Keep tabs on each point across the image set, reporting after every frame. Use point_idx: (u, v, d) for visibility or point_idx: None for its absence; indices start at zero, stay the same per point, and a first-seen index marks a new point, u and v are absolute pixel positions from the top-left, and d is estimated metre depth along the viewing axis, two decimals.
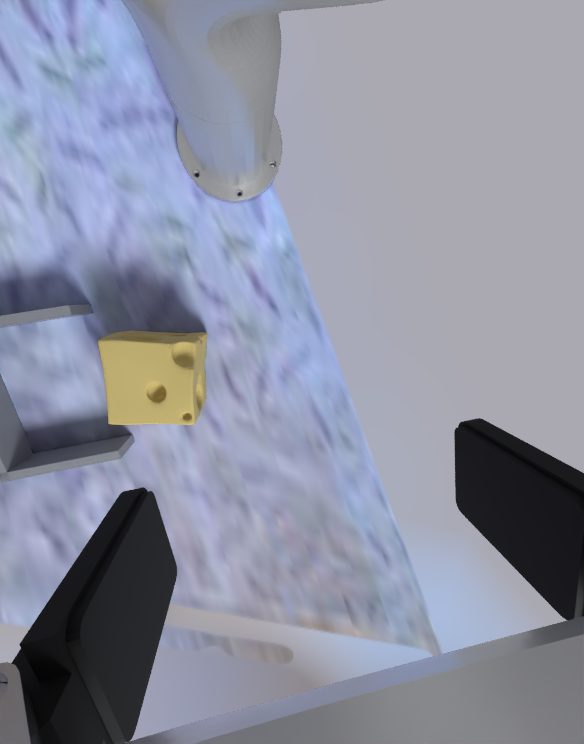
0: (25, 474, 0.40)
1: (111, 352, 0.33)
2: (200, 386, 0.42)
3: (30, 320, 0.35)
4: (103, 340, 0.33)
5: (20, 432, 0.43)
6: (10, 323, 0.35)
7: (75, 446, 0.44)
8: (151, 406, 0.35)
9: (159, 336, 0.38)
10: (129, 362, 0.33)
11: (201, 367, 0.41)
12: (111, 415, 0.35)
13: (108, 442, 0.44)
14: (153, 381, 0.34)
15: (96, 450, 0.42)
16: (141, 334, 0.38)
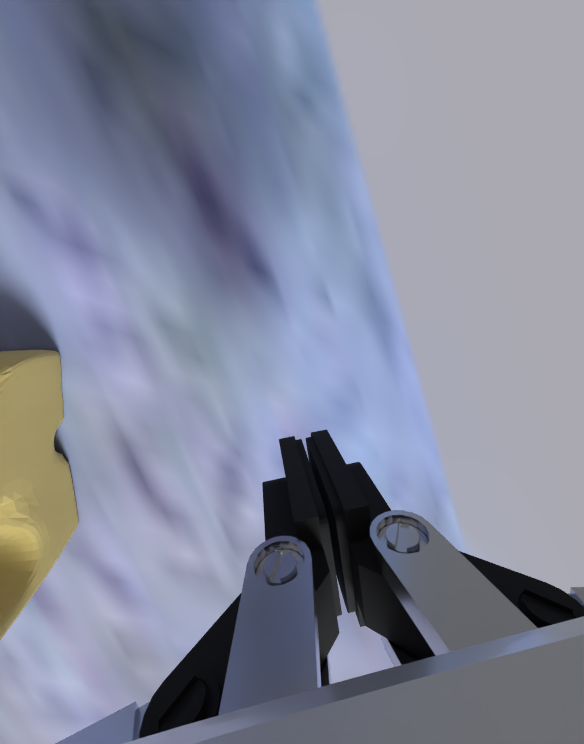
0: None
1: None
2: (24, 528, 0.13)
3: None
4: None
5: None
6: None
7: None
8: None
9: None
10: None
11: (14, 473, 0.12)
12: None
13: None
14: None
15: None
16: None
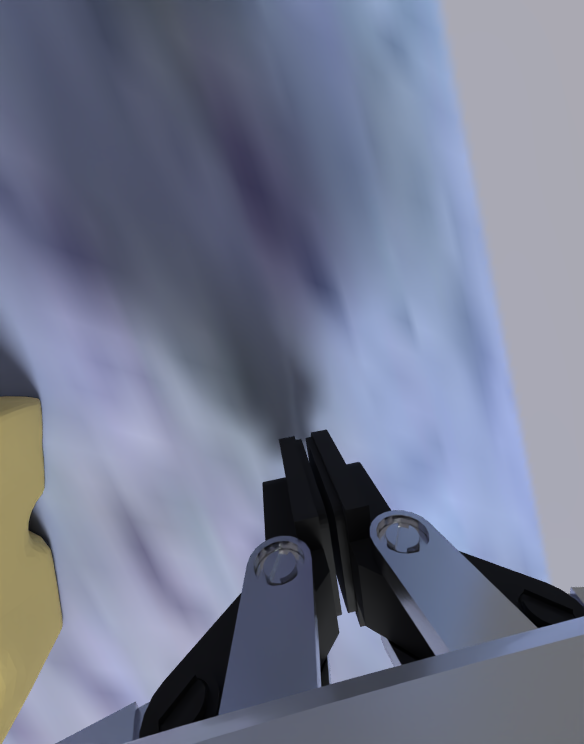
0: None
1: None
2: None
3: None
4: None
5: None
6: None
7: None
8: None
9: None
10: None
11: None
12: None
13: None
14: None
15: None
16: None
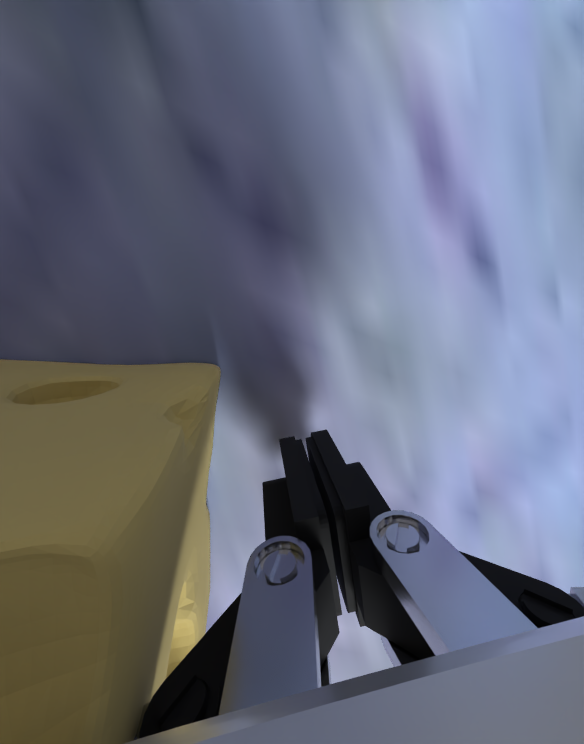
0: None
1: None
2: (189, 619, 0.09)
3: None
4: None
5: None
6: None
7: None
8: None
9: None
10: None
11: (192, 544, 0.08)
12: None
13: None
14: None
15: None
16: None
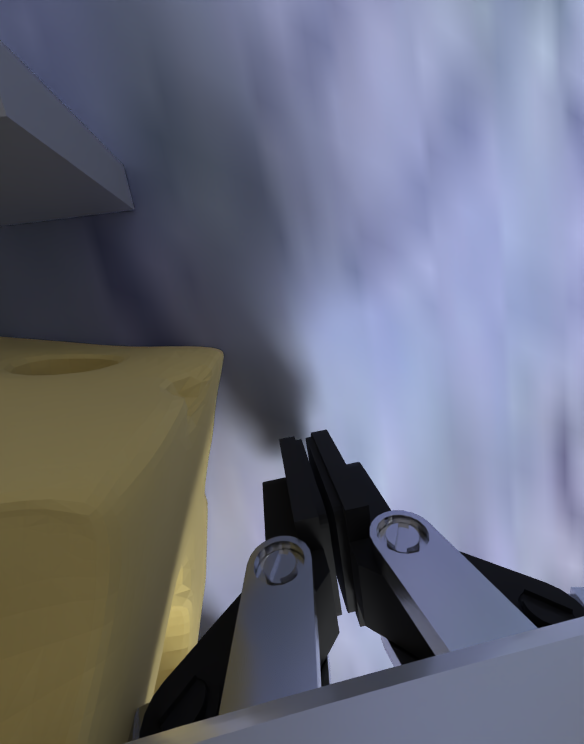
0: None
1: None
2: (184, 607, 0.09)
3: None
4: None
5: None
6: None
7: None
8: None
9: None
10: None
11: (190, 528, 0.08)
12: None
13: None
14: None
15: None
16: None
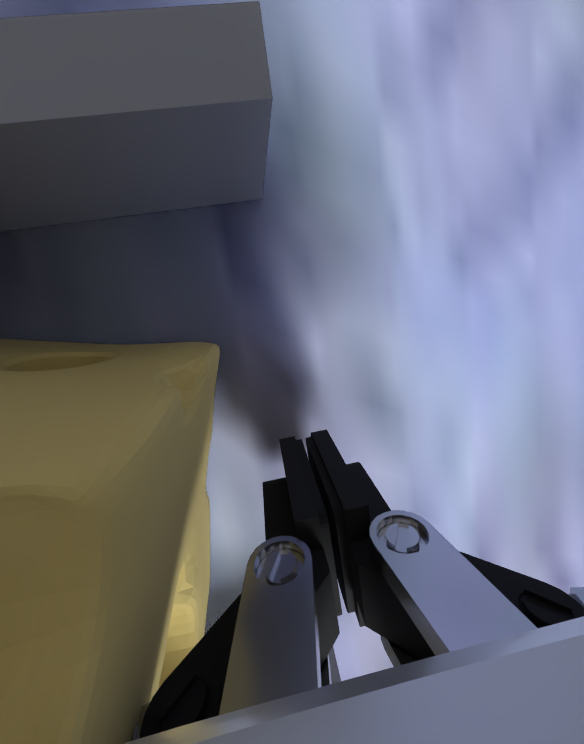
0: None
1: None
2: (188, 604, 0.09)
3: None
4: None
5: None
6: None
7: None
8: None
9: None
10: None
11: (191, 524, 0.08)
12: None
13: None
14: None
15: None
16: None
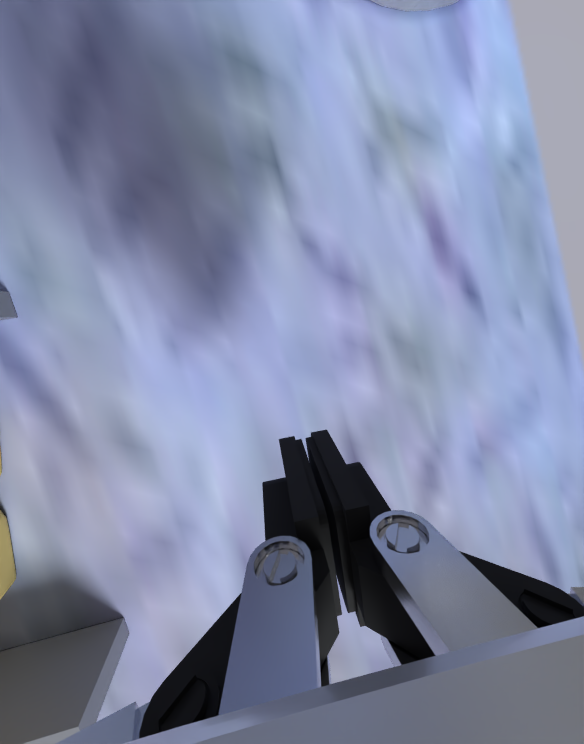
0: None
1: None
2: None
3: None
4: None
5: None
6: None
7: None
8: None
9: None
10: None
11: None
12: None
13: (59, 657, 0.17)
14: None
15: (17, 709, 0.14)
16: None
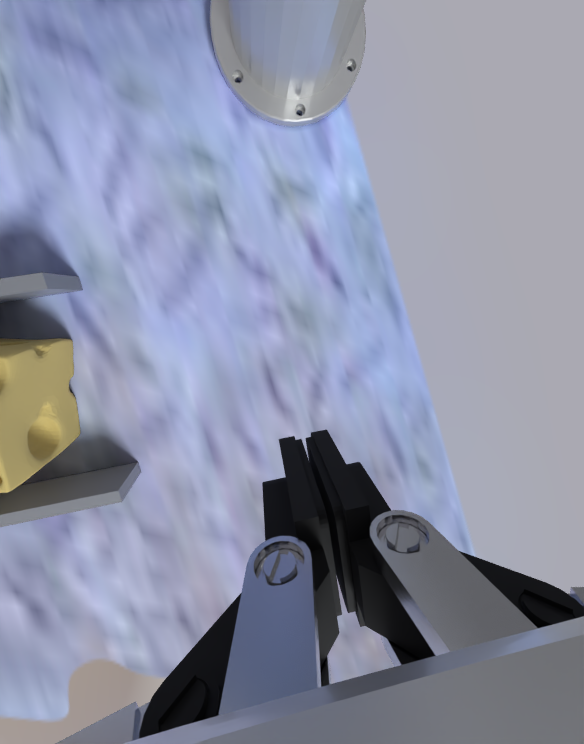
0: None
1: None
2: (55, 421, 0.27)
3: None
4: None
5: None
6: None
7: (57, 480, 0.31)
8: None
9: None
10: None
11: (51, 392, 0.27)
12: None
13: (104, 475, 0.31)
14: None
15: (86, 489, 0.29)
16: None
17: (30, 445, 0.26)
